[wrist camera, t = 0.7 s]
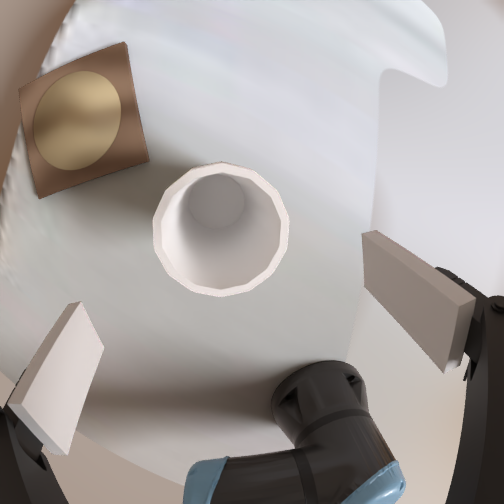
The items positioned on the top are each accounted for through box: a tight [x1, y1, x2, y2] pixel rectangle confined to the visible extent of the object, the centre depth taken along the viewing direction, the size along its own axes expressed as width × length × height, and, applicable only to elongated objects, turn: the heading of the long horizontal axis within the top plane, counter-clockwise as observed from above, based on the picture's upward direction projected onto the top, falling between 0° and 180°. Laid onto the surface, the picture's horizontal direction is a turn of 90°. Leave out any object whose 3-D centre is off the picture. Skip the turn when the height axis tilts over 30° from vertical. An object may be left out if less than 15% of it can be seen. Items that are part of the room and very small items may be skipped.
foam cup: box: [152, 161, 290, 297], centre depth 27 cm, size 10×9×13 cm
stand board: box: [19, 42, 150, 199], centre depth 27 cm, size 14×14×2 cm
